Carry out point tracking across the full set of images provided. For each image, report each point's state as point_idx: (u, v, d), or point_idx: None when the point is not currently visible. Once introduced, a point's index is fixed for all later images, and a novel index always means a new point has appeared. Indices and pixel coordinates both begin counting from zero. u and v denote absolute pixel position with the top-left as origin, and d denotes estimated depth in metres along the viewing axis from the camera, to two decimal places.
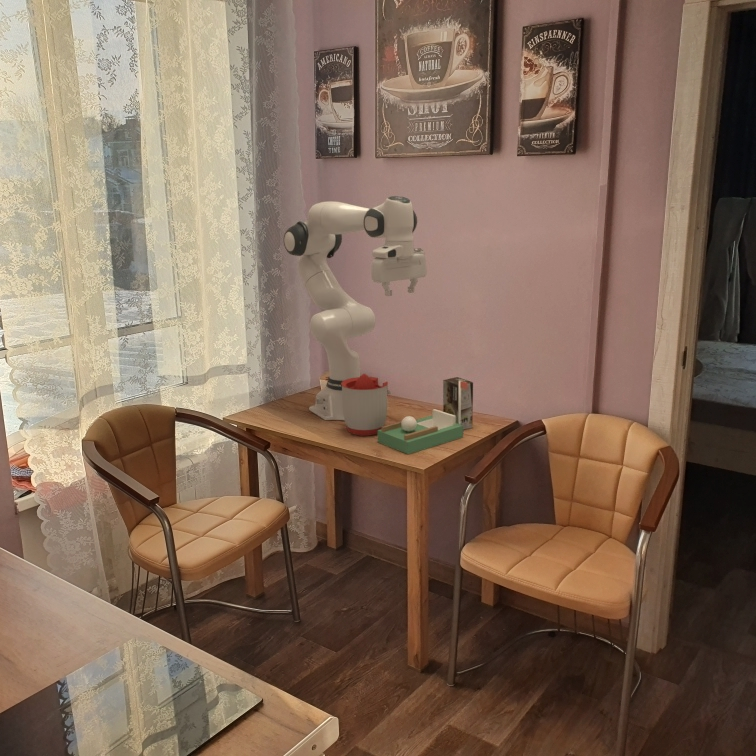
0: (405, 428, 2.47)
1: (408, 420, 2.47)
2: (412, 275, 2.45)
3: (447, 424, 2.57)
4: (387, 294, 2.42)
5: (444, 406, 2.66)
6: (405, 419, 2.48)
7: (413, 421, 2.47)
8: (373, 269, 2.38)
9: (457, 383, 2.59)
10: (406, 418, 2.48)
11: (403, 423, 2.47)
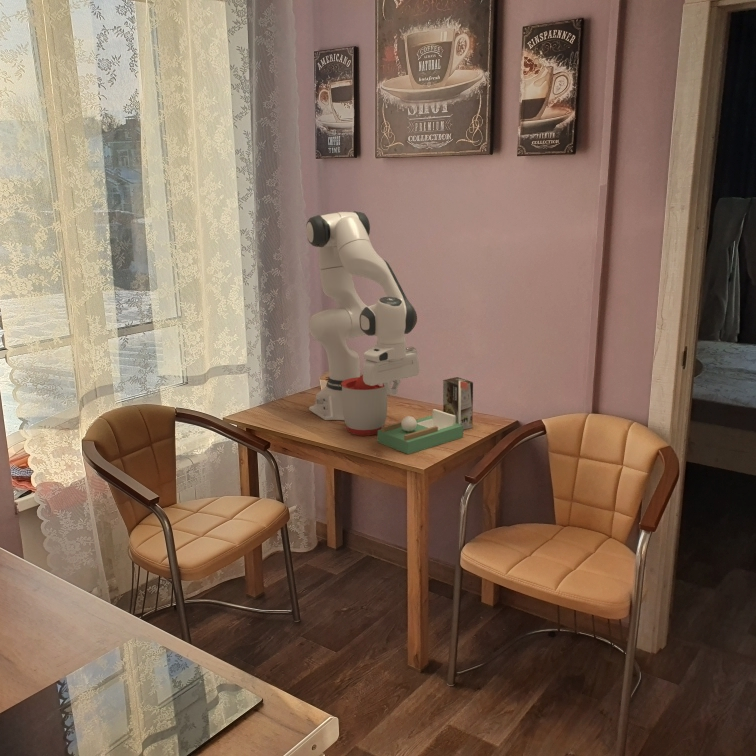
0: (405, 428, 2.47)
1: (408, 420, 2.47)
2: (405, 375, 2.41)
3: (447, 424, 2.57)
4: (389, 393, 2.40)
5: (444, 406, 2.66)
6: (405, 419, 2.48)
7: (413, 421, 2.47)
8: (364, 372, 2.34)
9: (457, 383, 2.59)
10: (406, 418, 2.48)
11: (403, 423, 2.47)
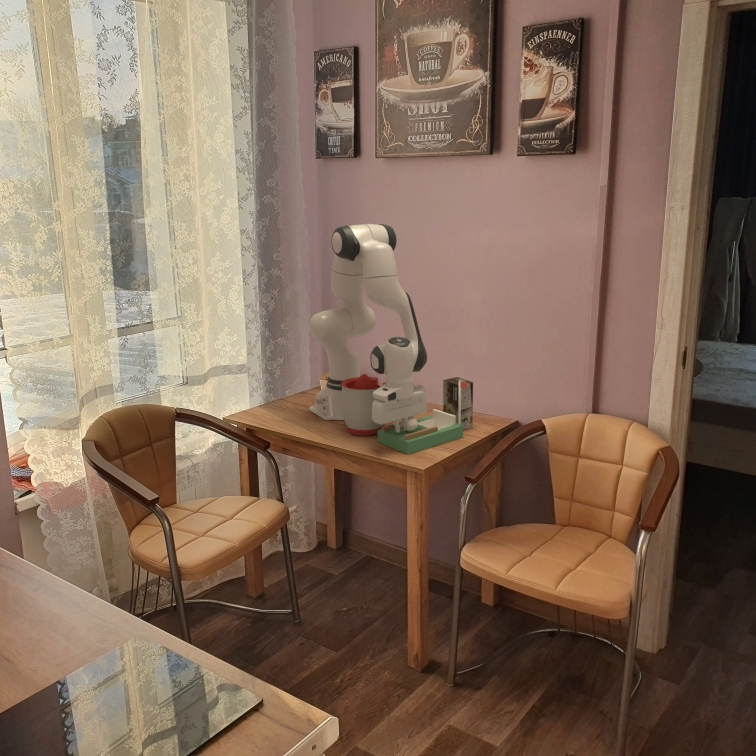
0: (406, 427, 2.47)
1: (410, 419, 2.47)
2: (413, 412, 2.46)
3: (447, 424, 2.57)
4: (397, 431, 2.46)
5: (444, 406, 2.66)
6: None
7: (414, 421, 2.47)
8: (373, 411, 2.40)
9: (457, 383, 2.59)
10: (408, 417, 2.48)
11: None
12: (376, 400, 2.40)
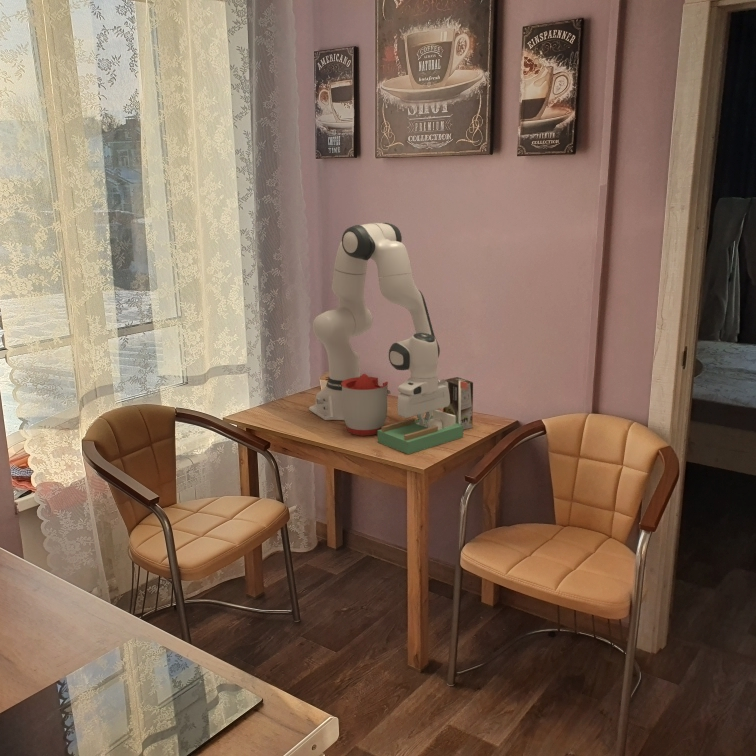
0: (436, 422, 2.56)
1: None
2: (436, 406, 2.53)
3: (447, 424, 2.57)
4: (421, 424, 2.52)
5: None
6: None
7: None
8: (399, 404, 2.46)
9: (457, 383, 2.59)
10: None
11: (438, 420, 2.58)
12: (402, 394, 2.46)
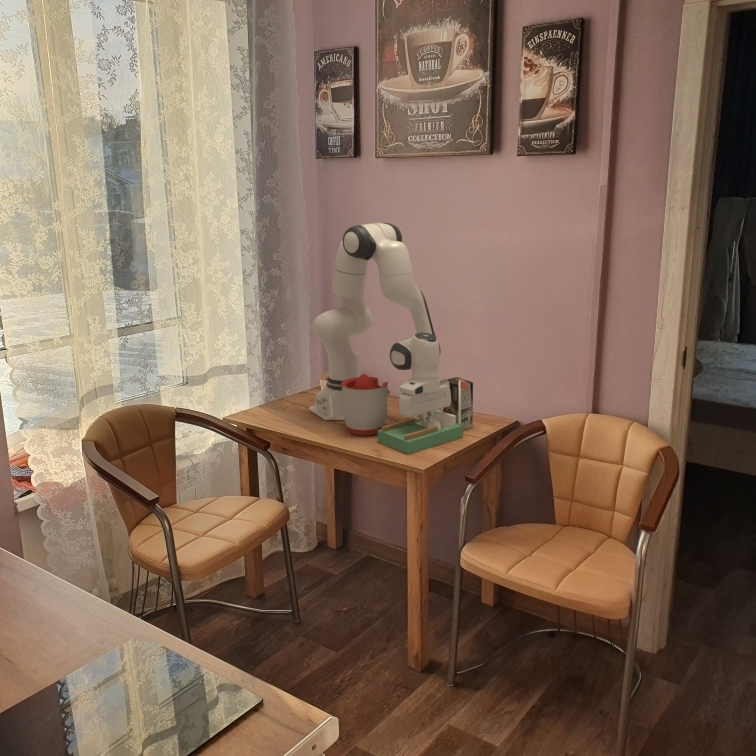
0: (434, 423, 2.56)
1: (440, 423, 2.58)
2: (438, 406, 2.53)
3: (447, 424, 2.57)
4: (423, 424, 2.53)
5: None
6: (438, 421, 2.58)
7: None
8: (401, 404, 2.46)
9: (457, 383, 2.59)
10: None
11: (436, 420, 2.57)
12: (403, 394, 2.47)
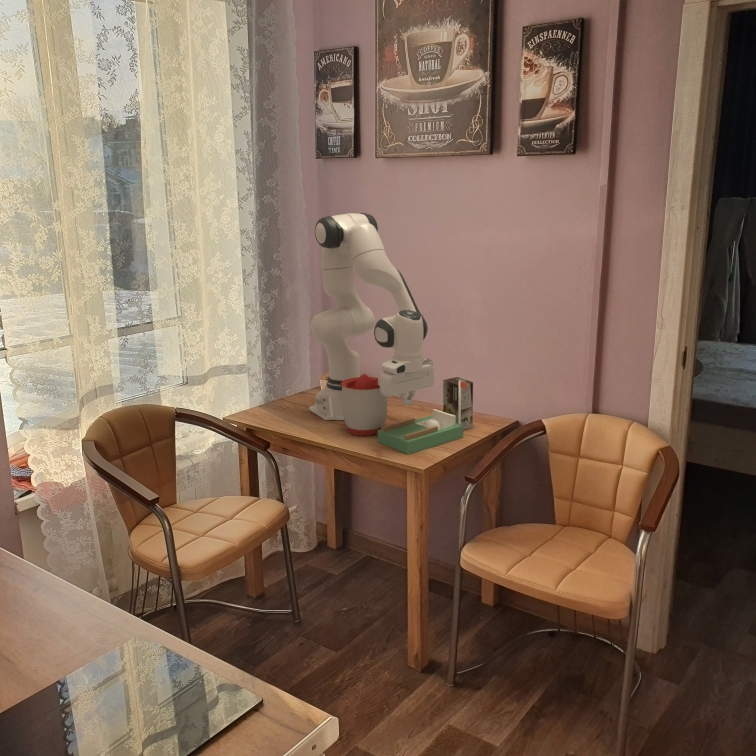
0: (432, 425, 2.55)
1: (438, 423, 2.57)
2: (420, 386, 2.47)
3: (447, 424, 2.57)
4: (404, 403, 2.47)
5: (444, 406, 2.66)
6: None
7: None
8: (382, 383, 2.40)
9: (457, 383, 2.59)
10: (437, 421, 2.58)
11: (434, 421, 2.56)
12: (385, 372, 2.40)
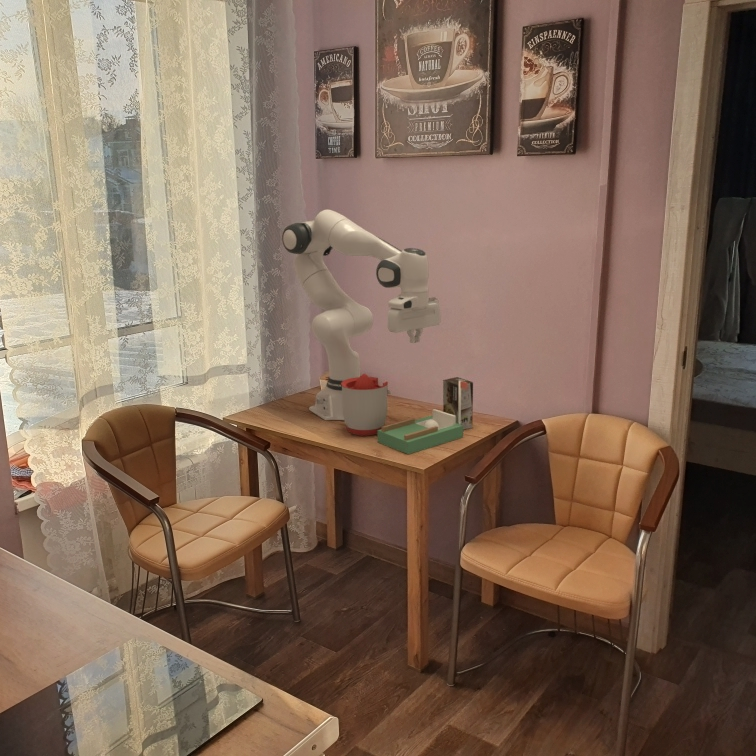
0: (430, 427, 2.55)
1: (436, 423, 2.56)
2: (427, 323, 2.52)
3: (447, 424, 2.57)
4: (412, 341, 2.51)
5: (444, 406, 2.66)
6: (433, 420, 2.57)
7: (438, 426, 2.57)
8: (389, 319, 2.45)
9: (457, 383, 2.59)
10: None
11: (431, 422, 2.56)
12: (392, 309, 2.45)
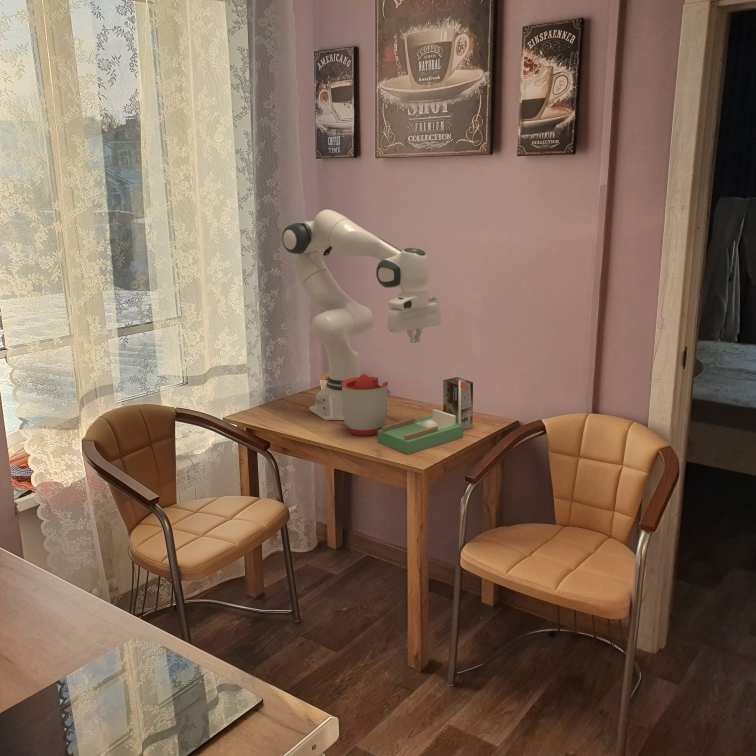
0: None
1: (434, 423, 2.56)
2: (427, 323, 2.52)
3: (447, 424, 2.57)
4: (412, 341, 2.51)
5: (444, 406, 2.66)
6: (432, 421, 2.56)
7: (437, 426, 2.56)
8: (389, 319, 2.45)
9: (457, 383, 2.59)
10: (432, 421, 2.56)
11: (429, 423, 2.55)
12: (392, 309, 2.45)
